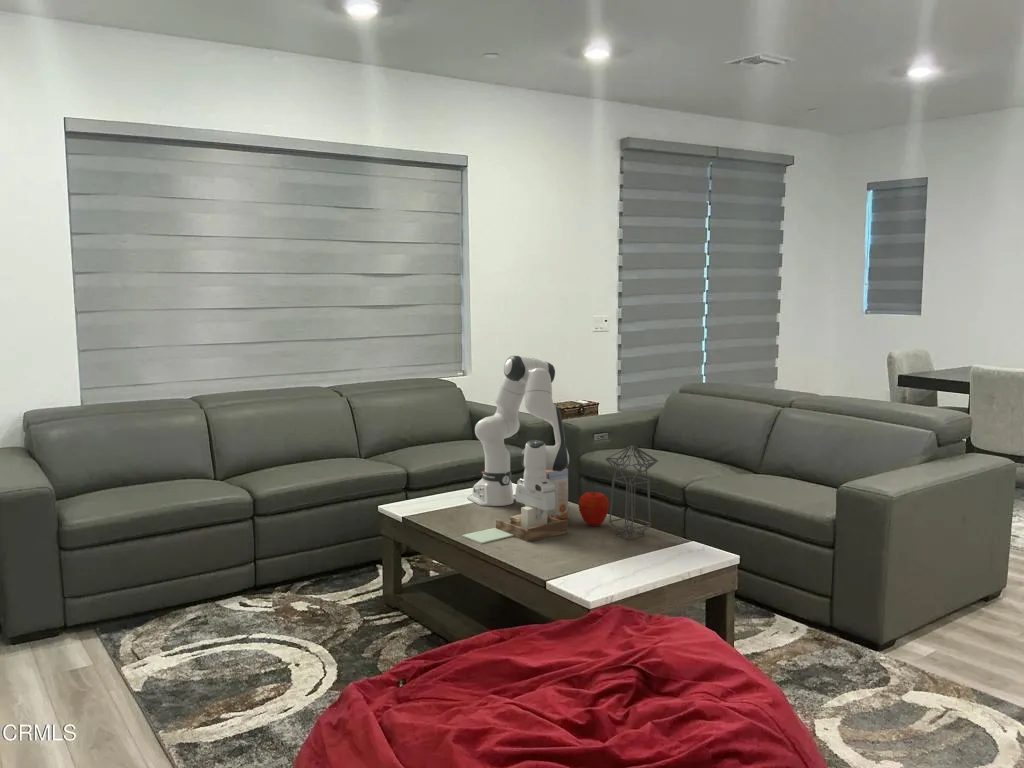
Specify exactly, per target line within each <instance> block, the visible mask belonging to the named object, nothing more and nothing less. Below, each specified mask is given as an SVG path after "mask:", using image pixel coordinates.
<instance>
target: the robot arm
mask: <svg viewBox="0 0 1024 768" xmlns="http://www.w3.org/2000/svg"><path fill="white" fill-rule="evenodd" d="M503 373H504V376H503V379H502V381H501V383H500V385H499V388H498V391H497V393H496V396H495V399H494V402H495V404H496V411H495V413H494V414H492V415H490V416H486V417H483V418H482V419H480V420H479V421H478V422H477V423H476V424H475V426H474V434H475V436H476V438H477V439H478V440H479V441H480V443H481V445H482V448H483V452H484V470H482V471H481V474H482V477H481V479H479V481H478V482H476V483H475V484H474V485H473V487H472V494H470V495H467V496H466V498H467V500H470V501H471V502H473V503H475V504H477V505H479V506H483V507H484V506H489V507H490V506H491V507H502V506H508V505H512V504H514V500H515V501H516V502H517V503H520V504H524V507H527V506H532V507H535V508H538V511H539V512H538V514H537V515H536V519H538V520H540V519H542V514H543V512H544V511H546V512H549V511H553V510H554V508H555V493H554V491H553V490H555V485H554V484H553V483H551V482H550V481H549V480H548V479H547V478H546V470H553V471H560V472H561V471H563V470H564V469H565V468H566V469H567V468H568V467H569V463H570V455H569V452H568V448H567V444H566V437H565V430H564V426H563V425H564V424H563V420H562V414H561V410H560V409H559V407H558V406H556V405H555V403H554V401H553V387H552V383H553V382H554V380H555V376H556V369H555V367H554V365H553V364H551V363H550V362H548V361H543V360H540V359H538V358H532V357H526V356H525V357H524V356H520V355H510V356H509V357H508V358H507V359H506V360H505V362H504V365H503ZM523 399H524V406H525V408H526V410H527V411H528V413H529V414H530V415H532V416H534V417H535V418H538V419H541V420H543V421H545V422H547V423H548V424H550V425H551V426H552V428H553V434H554V435H553V436H554V440H555V444H554V445H546V443H545V442H544V441H543V440H540V439H532V440H529V441H527V442H526V443H525V447H524V448H523V449H522V451H521V463H520V464H521V466H522V467H523V468H524V471H523V478H519V479H518V480H517V483H516V486H515V493H513V492H514V491H513V490H514V489H513V482H512V481H511V480H512V471H511V453H510V452H509V450H508V449H507V448H506V445H505V439H507V438H511V437H512V436H514V435H515V434H516V433H518V432H519V430H520V427H521V426H520V424H521V423H520V420H519V411H520V406H521V405H522V401H523Z"/></svg>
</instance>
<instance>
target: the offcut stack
mask: <svg viewBox="0 0 1024 768" xmlns="http://www.w3.org/2000/svg"><path fill="white" fill-rule="evenodd" d="M509 520H510V522H511V524H513V525H516V526H519V527H521V513H520V514H517V515H513V516H510V517H509Z"/></svg>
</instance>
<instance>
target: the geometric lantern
mask: <svg viewBox="0 0 1024 768" xmlns="http://www.w3.org/2000/svg"><path fill="white" fill-rule="evenodd" d="M620 453H621V454H620ZM628 453H629V454H628ZM619 454H620V455H619ZM616 455H618V457H615V456H616ZM631 457H633V458H631ZM647 457H648V458H647ZM625 458H626V459H625ZM631 459H632V461H633V463H632V464H631ZM639 459H640V460H639ZM619 460H620V461H619ZM605 461H607V462H608V464H609V465H610V466H611V467H612V469H614V471H613V473H612V478H611V491H610V492H611V493H610V505H609V508H610V509H609V519H608V523H609V525H611V526H612V527H613V528H614V529H615V536H617V537H621V538H622V539H623V538H624V539H626V540H634V539H638V538H641V537H644V536H645V535H644V534H645V533H644V532H645V531H646V530H647V529H649V528H650V527H651V526H652V523H651V522H652V521H651V480H650V479H649V474H648V470H649V469H650V468H652V467H653V466H654V465H655V464H657V463H659V460H658V459H657V458H655V457H653V456H652V455H650V454H648V453H647V452H645V451H644V450H642V449H640V448H639V447H637V446H636V445H629V446H627V447H625V448H623V449H622V450H619V451H618V452H615V453H613V454H611V455H610V456H608V457H605ZM635 461H636V462H637V463H635ZM641 461H642V462H641ZM626 462H627V463H626ZM620 466H621V467H620ZM637 466H638V467H639V468H638V467H637ZM627 467H634V469H635V470H637V472H636V473H635V474H634V475H631V474H630V473H629V471H628V470H627V469H626V468H627ZM643 467H644V468H645V469H644V470H642V468H643ZM623 470H625V471H626V473H627V474H628V475H624V473H623ZM617 471H619V472H620V474H621V476H619V477H616V476H617ZM644 472H645V474H646V478H643V477H641V476H637V475H638V474H639V473H640V474H642V473H644ZM626 478H629V479H628V480H629V481H628V480H627V479H626ZM637 478H638V479H641V480H646V481H643V482H636V479H637ZM618 479H624V481H625V482H624V481H621V480H618ZM615 482H618V483H621V484H625V487H626V488H625V508H624V509H625V510H624V511H625V512H624V517H621V518H617V519H612V511H613V505H614V503H613V502H614V494H615V493H614V492H615ZM632 482H633V483H632ZM645 483H646V485H647V486H646V487H647V489H646V491H647V508H648V521H647V520H646V521H645V520H643V519H639V518H636V485H639V484H640V485H641V484H645ZM630 508H631V509H630ZM630 511H631V515H630V516H629V512H630ZM629 519H631V520H630V521H631V524H629ZM621 520H624V526H622V525H618V524H616V523H614V522H618V521H621ZM634 521H639V522H642V523H643V524H644V523H645V524H647V525H641V526H634ZM617 527H618V528H617ZM621 529H623V530H621ZM636 529H638V530H639V531H636ZM622 533H624V534H628V537H625V536H623V535H620V534H622ZM634 534H639V535H638V536H635V537H633V535H634ZM630 535H631V537H630Z"/></svg>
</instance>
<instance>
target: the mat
mask: <svg viewBox="0 0 1024 768" xmlns="http://www.w3.org/2000/svg"><path fill="white" fill-rule="evenodd" d="M461 537H462V538H465V539H467V540H469V539H470V541H471V542H475V543H477V544H480V545H484V544H487V543H491V542H495V541H500V540H504V538H505V539H508V538H512V537H514V535H513V534H510V533H507V532H505V531H502V530H499V529H496V527H492V528H489V529H484V530H479V531H475V532H469V533H466V534H462V535H461Z"/></svg>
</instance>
